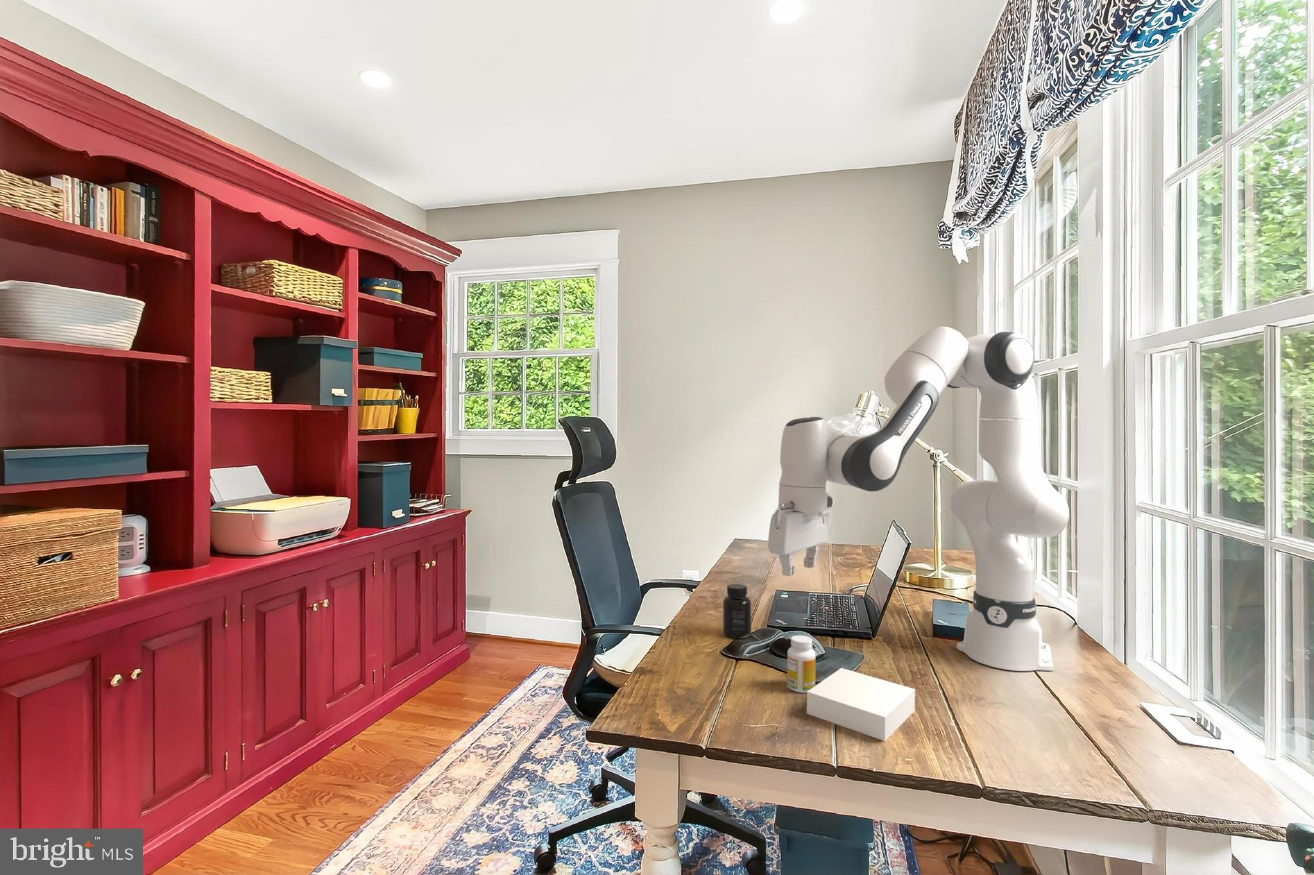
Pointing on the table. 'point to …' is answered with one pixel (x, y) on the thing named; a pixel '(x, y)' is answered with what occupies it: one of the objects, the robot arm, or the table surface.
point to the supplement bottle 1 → (736, 612)
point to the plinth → (861, 703)
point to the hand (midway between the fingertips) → (798, 571)
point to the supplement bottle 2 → (801, 664)
